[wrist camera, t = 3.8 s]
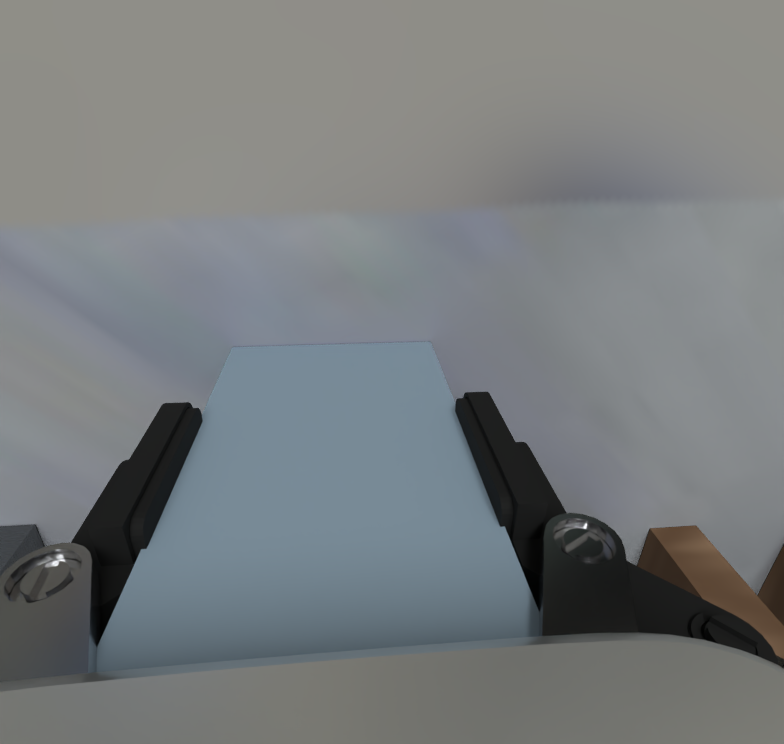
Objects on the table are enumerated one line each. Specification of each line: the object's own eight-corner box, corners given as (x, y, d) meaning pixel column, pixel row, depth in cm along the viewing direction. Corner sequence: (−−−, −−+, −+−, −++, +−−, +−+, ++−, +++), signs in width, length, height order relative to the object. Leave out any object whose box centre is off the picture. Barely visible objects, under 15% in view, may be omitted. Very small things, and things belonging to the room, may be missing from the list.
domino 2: (696, 525, 20) (1020, 898, 11) (657, 621, 23) (889, 987, 13) (649, 528, 20) (937, 909, 11) (617, 625, 23) (821, 998, 13)
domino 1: (232, 347, 15) (34, 785, 5) (430, 341, 15) (586, 729, 6) (241, 404, 16) (86, 866, 6) (427, 397, 16) (557, 812, 7)
